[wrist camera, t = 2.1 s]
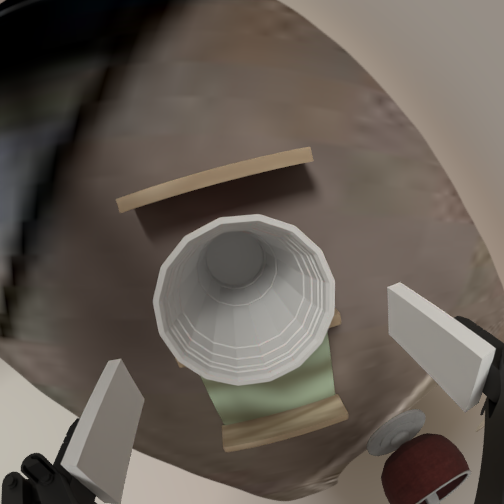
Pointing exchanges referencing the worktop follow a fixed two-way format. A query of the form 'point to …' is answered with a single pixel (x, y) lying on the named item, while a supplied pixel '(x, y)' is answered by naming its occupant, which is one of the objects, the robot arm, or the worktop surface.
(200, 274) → the plastic cup
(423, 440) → the mate gourd
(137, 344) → the worktop surface
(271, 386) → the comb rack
